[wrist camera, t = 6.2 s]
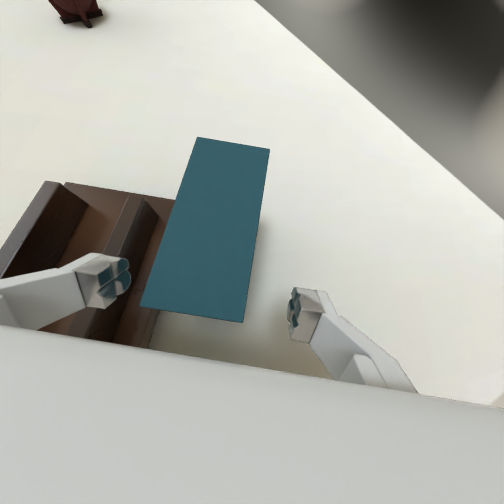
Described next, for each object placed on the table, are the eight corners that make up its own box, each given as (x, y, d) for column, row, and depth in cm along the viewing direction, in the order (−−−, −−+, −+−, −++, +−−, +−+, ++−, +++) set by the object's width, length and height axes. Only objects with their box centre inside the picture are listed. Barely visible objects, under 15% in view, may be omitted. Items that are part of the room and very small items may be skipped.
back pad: (241, 318, 16) (243, 323, 8) (191, 310, 16) (138, 306, 8) (257, 220, 20) (270, 148, 11) (215, 213, 20) (196, 136, 11)
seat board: (136, 385, 14) (92, 415, 10) (-19, 361, 14) (-130, 381, 10) (190, 209, 20) (176, 180, 15) (78, 191, 19) (32, 156, 15)
